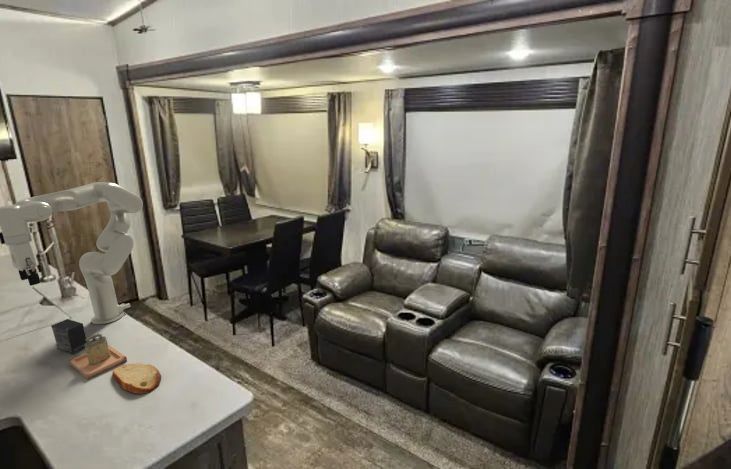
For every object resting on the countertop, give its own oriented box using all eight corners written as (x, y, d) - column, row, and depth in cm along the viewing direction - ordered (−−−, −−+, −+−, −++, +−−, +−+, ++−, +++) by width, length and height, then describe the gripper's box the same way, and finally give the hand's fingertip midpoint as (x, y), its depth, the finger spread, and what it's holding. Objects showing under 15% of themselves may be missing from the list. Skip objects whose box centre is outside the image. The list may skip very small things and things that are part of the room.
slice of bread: (115, 370, 142) (113, 361, 141) (169, 361, 146) (167, 353, 145) (95, 403, 125) (92, 393, 124) (156, 393, 129) (154, 383, 128)
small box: (90, 346, 158) (83, 322, 155) (72, 354, 152) (66, 330, 149) (74, 340, 162) (67, 317, 159) (56, 349, 156) (49, 325, 153)
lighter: (108, 353, 150) (102, 330, 147) (112, 356, 148) (107, 333, 145) (87, 363, 145) (80, 339, 142) (91, 366, 143) (85, 342, 140)
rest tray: (107, 347, 156) (106, 343, 155) (127, 360, 147) (126, 356, 146) (69, 364, 146) (68, 360, 145) (87, 379, 137) (86, 375, 136)
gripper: (-3, 238, 147) (11, 280, 152) (12, 245, 137) (26, 290, 142) (23, 233, 153) (35, 273, 158) (38, 239, 143) (51, 282, 148)
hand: (30, 281), depth 150 cm, fingers open, 9 cm apart
